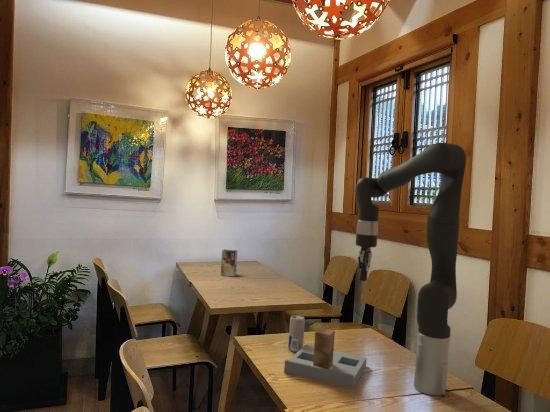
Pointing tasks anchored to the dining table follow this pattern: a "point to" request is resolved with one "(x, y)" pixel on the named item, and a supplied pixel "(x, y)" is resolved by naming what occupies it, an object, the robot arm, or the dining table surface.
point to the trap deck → (339, 374)
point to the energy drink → (296, 333)
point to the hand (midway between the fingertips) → (363, 280)
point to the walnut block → (323, 348)
